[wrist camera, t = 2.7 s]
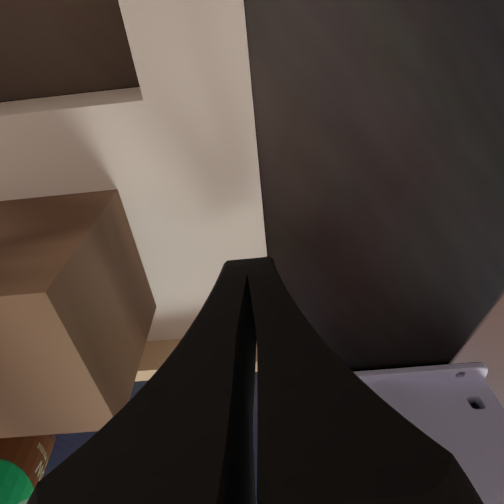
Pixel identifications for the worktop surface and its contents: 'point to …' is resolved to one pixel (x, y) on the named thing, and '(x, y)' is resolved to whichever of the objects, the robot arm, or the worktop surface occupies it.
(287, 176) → the worktop surface
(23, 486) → the food container
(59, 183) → the trap deck
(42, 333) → the walnut block
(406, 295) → the worktop surface
